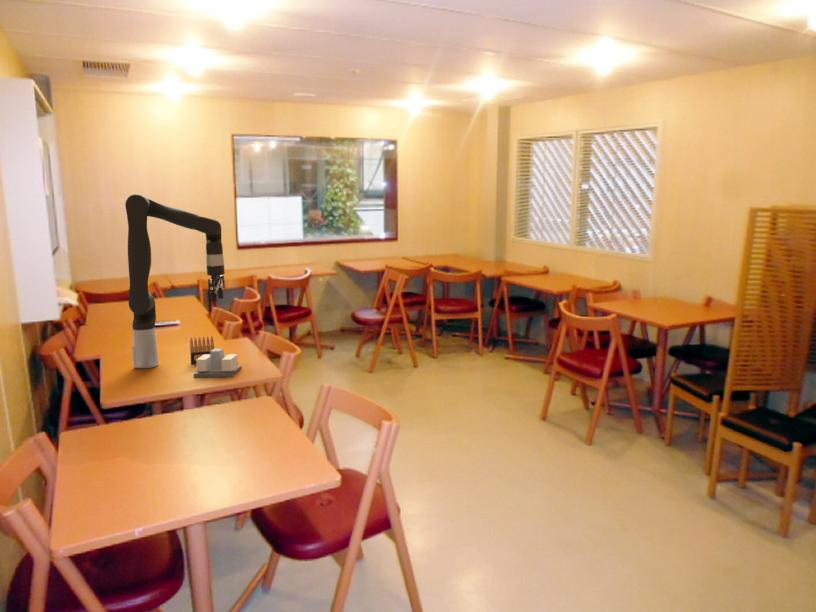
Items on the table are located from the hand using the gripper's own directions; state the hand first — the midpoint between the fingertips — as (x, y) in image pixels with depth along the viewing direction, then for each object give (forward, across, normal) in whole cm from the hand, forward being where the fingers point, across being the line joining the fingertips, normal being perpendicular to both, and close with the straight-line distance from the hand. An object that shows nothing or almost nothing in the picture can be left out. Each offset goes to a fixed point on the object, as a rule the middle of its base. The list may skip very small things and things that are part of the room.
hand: (217, 300), depth 273 cm
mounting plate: (+28, +22, +6) cm, 36 cm away
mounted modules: (+26, +22, +6) cm, 34 cm away
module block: (+26, +22, +6) cm, 34 cm away
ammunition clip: (+28, +4, -7) cm, 29 cm away
